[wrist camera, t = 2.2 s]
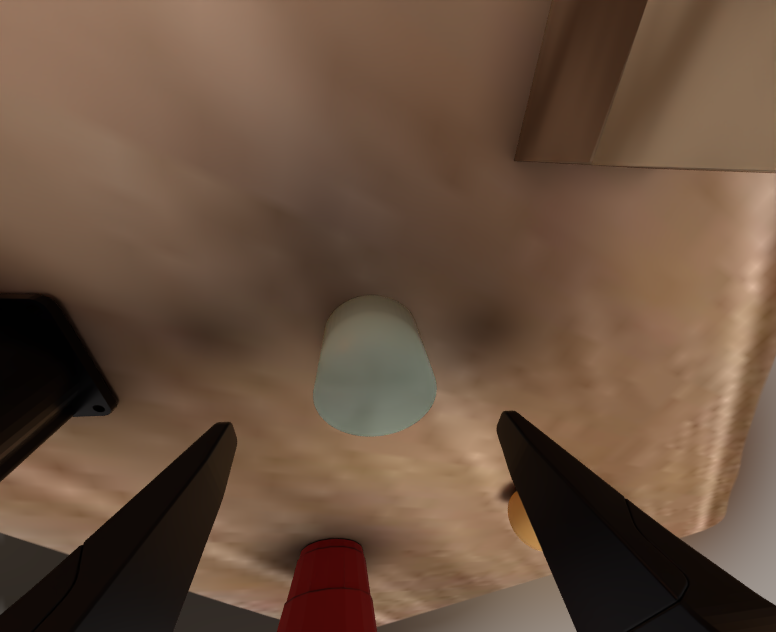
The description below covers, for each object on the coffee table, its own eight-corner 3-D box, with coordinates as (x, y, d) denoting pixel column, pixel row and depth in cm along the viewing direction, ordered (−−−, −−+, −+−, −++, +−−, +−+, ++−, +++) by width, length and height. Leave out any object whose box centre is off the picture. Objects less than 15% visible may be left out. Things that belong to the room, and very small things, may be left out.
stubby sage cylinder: (411, 370, 15) (427, 433, 12) (326, 372, 15) (317, 439, 11) (421, 295, 13) (445, 346, 9) (321, 293, 12) (308, 347, 9)
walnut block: (652, 168, 11) (785, 173, 8) (512, 160, 10) (589, 162, 7) (759, -62, 8) (1057, -224, 5) (572, -93, 7) (759, -310, 4)
